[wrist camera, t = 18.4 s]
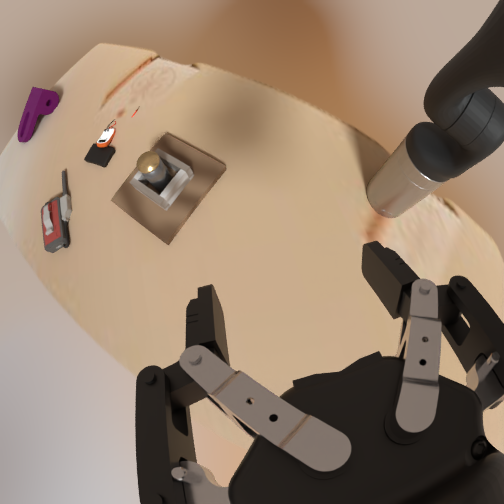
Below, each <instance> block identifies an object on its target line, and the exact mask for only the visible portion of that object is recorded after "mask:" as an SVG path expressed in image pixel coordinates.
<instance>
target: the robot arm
mask: <svg viewBox="0 0 504 504" xmlns="http://www.w3.org/2000/svg"><path fill="white" fill-rule="evenodd" d="M488 87H504V0H500V1H499V2H498V4H497V5H496V7H495V8H494V10H493V11H492V13H491V14H490V16H489V17H488V19H487V20H486V21H485V23H484V24H483V26H482V27H481V29H480V30H479V31H478V33H476V35H475V36H474V37H473V38H472V39H471V40H470V41H469V42H468V43H467V44H466V45H465V46H464V47H463V48H462V49H461V50H460V51H459V53H457V54H456V55H455V56H454V57H453V58H452V59H451V60H450V61H449V62H448V63H447V64H446V65H445V66H444V67H443V68H442V69H441V70H440V71H439V73H438V74H437V75H436V76H435V77H434V79H433V80H432V82H431V83H430V85H429V87H428V89H427V91H426V94H425V97H424V109H425V112H426V114H427V116H428V117H429V118H430V119H431V120H432V121H433V122H434V123H431V122H421V123H418V124H416V125H415V126H414V127H413V128H412V129H411V131H410V132H409V133H408V135H407V136H406V137H405V139H404V140H403V141H402V142H401V143H400V145H399V146H398V147H397V149H396V150H395V151H394V152H393V154H392V155H391V156H390V157H389V159H388V160H387V161H386V162H385V164H384V165H383V166H382V167H381V168H380V170H379V171H378V172H377V173H376V174H375V176H374V177H373V178H372V179H371V180H370V182H369V184H368V187H367V196H368V200H369V202H370V204H371V206H372V207H373V208H374V210H375V211H377V212H378V213H379V214H381V215H382V216H385V217H388V218H395V217H398V216H399V215H401V214H402V213H404V212H405V211H407V210H408V209H410V208H411V207H412V206H414V205H415V204H417V203H418V202H419V201H421V200H422V199H424V198H425V197H426V196H428V195H429V194H430V193H432V192H433V191H434V190H436V189H437V188H438V187H440V186H441V185H442V184H444V183H445V182H446V181H447V180H449V179H450V178H455V177H457V176H459V175H461V174H462V173H463V172H465V171H466V170H468V169H469V168H471V167H472V166H474V165H476V164H477V163H478V162H480V161H482V160H483V159H485V158H486V157H487V156H489V155H490V154H492V153H493V152H494V151H495V150H496V149H497V148H498V147H499V146H500V145H501V144H502V143H503V141H504V103H502V101H501V100H500V99H499V98H498V97H497V96H496V95H495V94H494V93H493V92H492V91H491V90H490V89H488ZM362 273H363V276H364V278H365V279H366V280H367V282H368V283H369V285H370V286H371V287H372V289H373V290H374V292H375V293H376V294H377V296H378V297H379V299H380V300H381V302H382V303H383V304H384V306H385V307H386V309H387V310H388V312H389V313H390V315H391V316H392V318H393V319H396V318H398V317H402V319H403V321H402V325H401V332H400V338H399V344H398V350H397V354H396V357H394V356H383V357H382V355H381V354H380V352H379V351H378V352H376V353H373V354H371V355H368V356H365V357H363V358H360V359H358V360H357V361H356V362H354V363H353V364H351V365H350V366H348V367H346V368H345V369H343V370H342V371H339V372H332V373H322V374H314V375H310V376H307V377H304V378H300V379H297V380H293V386H294V387H292V388H290V389H289V390H287V391H286V392H284V393H283V394H282V395H281V396H280V397H278V396H277V395H275V394H274V393H272V392H271V391H269V390H268V389H266V388H265V387H263V386H262V385H261V384H259V383H258V382H256V381H255V380H253V379H252V378H251V377H249V376H248V375H247V374H245V373H244V372H242V371H235V370H234V369H232V368H231V367H230V363H229V355H228V347H227V339H226V331H225V322H224V315H223V310H222V307H221V304H220V302H219V299H218V296H217V294H216V291H215V289H214V286H213V285H212V284H211V285H207V286H203V287H199V288H198V298H196V299H192V300H190V302H189V304H188V306H187V308H186V317H187V318H186V349H185V351H184V352H183V353H182V354H181V356H180V360H179V361H178V362H176V363H174V364H173V365H170V366H168V367H166V368H164V369H161V368H160V367H158V366H148V367H146V368H144V369H143V370H141V372H140V373H139V374H138V376H137V380H136V414H135V415H136V417H135V418H136V419H135V421H136V423H135V427H136V460H137V475H138V487H139V497H140V503H141V504H504V454H503V453H501V452H500V451H498V450H497V449H496V448H495V447H494V446H492V445H491V444H490V442H489V441H488V440H487V438H486V436H485V433H484V427H483V412H484V411H486V410H487V409H493V408H495V407H497V406H498V405H499V404H500V403H501V402H502V401H503V400H504V324H503V322H502V321H501V319H500V318H499V317H498V315H497V314H496V313H495V311H494V310H493V309H492V308H491V306H490V305H489V304H488V303H487V301H486V300H485V299H484V298H483V296H482V295H481V294H480V293H479V292H478V290H477V289H476V288H475V287H474V286H473V284H472V283H471V282H470V281H469V280H468V279H467V278H465V277H463V276H453V277H452V278H451V279H450V281H449V284H448V285H439V286H436V285H435V284H434V283H433V282H432V281H430V280H427V279H420V278H419V277H418V276H417V275H416V274H415V272H414V271H413V270H412V269H411V268H410V267H409V266H408V265H407V264H406V263H405V262H404V261H403V259H402V258H400V256H399V255H398V254H397V253H396V252H395V251H393V250H391V249H389V248H387V247H386V248H384V247H383V246H382V245H381V244H380V243H379V242H378V241H374V242H370V243H367V244H364V245H363V252H362ZM461 314H463V315H464V317H465V318H466V319H467V321H468V322H469V325H470V328H469V327H468V325H467V324H466V322H465V321H464V320H463V318H462V317H461ZM441 331H442V333H443V334H444V336H445V337H446V339H447V341H448V342H449V344H450V345H451V347H452V349H453V350H454V352H455V354H456V355H457V357H458V359H459V361H460V362H461V364H462V366H463V368H464V369H465V371H466V373H467V376H466V382H467V385H466V386H464V385H462V384H460V383H457V382H455V381H453V380H450V379H448V378H446V377H443V376H441V375H439V365H440V351H441ZM204 398H207V399H208V400H209V401H210V402H211V403H212V404H213V405H215V406H216V407H217V408H218V409H219V410H220V411H221V412H223V413H224V414H225V415H226V416H227V417H228V418H229V419H231V420H232V421H233V422H234V423H235V424H236V425H237V426H238V427H239V428H240V429H241V430H243V431H244V432H245V433H246V434H248V435H249V436H250V437H251V438H253V439H254V441H253V443H252V445H251V446H250V448H249V450H248V452H247V453H246V455H245V457H244V459H243V460H242V462H241V464H240V465H239V467H238V468H237V470H236V472H235V473H234V475H233V477H232V478H231V481H230V483H229V487H222V486H220V485H219V484H218V483H217V482H216V480H215V478H214V475H213V474H212V472H211V471H210V470H209V469H207V468H206V467H204V466H201V465H199V464H197V460H196V454H195V448H194V440H193V433H192V425H191V417H190V408H189V405H191V404H193V403H195V402H198V401H200V400H202V399H204Z"/></svg>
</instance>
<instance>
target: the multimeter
mask: <svg viewBox="0 0 504 504" xmlns="http://www.w3.org/2000/svg"><path fill="white" fill-rule="evenodd" d="M139 107H140V106H139ZM137 110H138V109H137ZM137 110H136V112H137ZM136 112H135V113H136ZM135 113H134V114H135ZM134 114H133V116H134ZM133 116H132V117H133ZM114 120H115V119H114ZM114 120H113V121H114ZM113 121H112V122H113ZM112 122H111V123H112ZM114 122H116V121H114ZM111 123H110V124H111ZM110 124H109V125H110ZM115 124H116V123H115ZM115 124H114V125H115ZM109 125H108V126H109ZM112 126H113V125H112ZM112 126H111V127H112ZM107 128H108V127H107ZM107 128H106V129H105V130H104V132H103V134H102V136H101V137H100V139H99V140H98V141H97V144H93V145H92V147H91V148H90V150H89V152H88V153H87V155H86V157H85V159H84V160H85V161H86V162H89V163H93V164H97V165H100V166H102V167H106V166H107V165H108V163H109V161H110V159H111V158H112V156H113V154H114V153H115V149H114V148H112V147H107V146H108V145H109V143H110V142H111V140H112V139H113V137H114V135H115V129H113V128H109V129H107Z"/></svg>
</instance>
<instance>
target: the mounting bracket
mask: <svg viewBox="0 0 504 504" xmlns="http://www.w3.org/2000/svg"><path fill="white" fill-rule="evenodd" d="M58 103H59V96H58V94H57V93H56V92H54V91H50V90H45V89H41V88H36V87H33V88H32V90H31V93H30V95H29V98H28V101H27V103H26V106H25V109H24V112H23V115H22V118H21V121H20V125H19V128H18V140H19V142H28V141H29V139H30V138H31V136H32V133H33V131H34V127H35V124H36V121H37V118H38V115H40V114H43V115H48V114H51V113H52V112H53V111H54V109H55V108H56V107H57V106H58Z"/></svg>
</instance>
